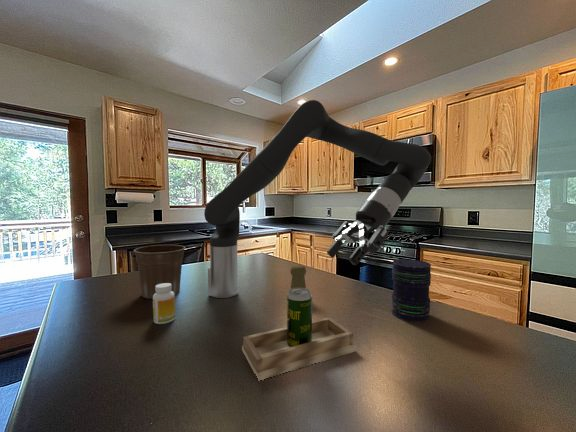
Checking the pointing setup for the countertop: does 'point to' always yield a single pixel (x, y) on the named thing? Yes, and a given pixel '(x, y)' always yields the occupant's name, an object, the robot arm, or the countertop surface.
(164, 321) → the supplement bottle
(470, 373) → the countertop surface
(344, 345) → the wooden rimmed tray
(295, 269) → the cork
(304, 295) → the beer can
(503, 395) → the countertop surface
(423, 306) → the storage jar
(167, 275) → the plant pot
